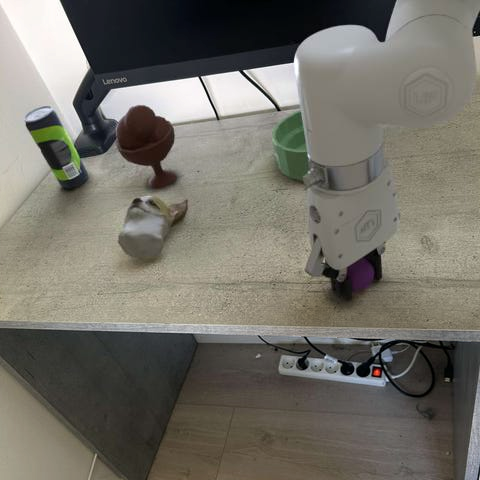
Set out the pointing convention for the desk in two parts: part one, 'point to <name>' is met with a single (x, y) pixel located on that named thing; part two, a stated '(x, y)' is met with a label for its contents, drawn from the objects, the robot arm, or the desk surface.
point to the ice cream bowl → (146, 142)
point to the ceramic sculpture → (149, 226)
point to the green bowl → (291, 146)
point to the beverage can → (56, 146)
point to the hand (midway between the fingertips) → (357, 283)
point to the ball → (360, 274)
